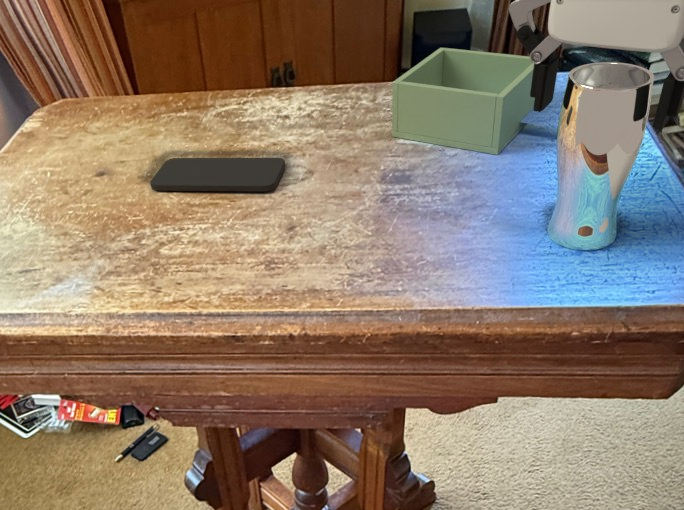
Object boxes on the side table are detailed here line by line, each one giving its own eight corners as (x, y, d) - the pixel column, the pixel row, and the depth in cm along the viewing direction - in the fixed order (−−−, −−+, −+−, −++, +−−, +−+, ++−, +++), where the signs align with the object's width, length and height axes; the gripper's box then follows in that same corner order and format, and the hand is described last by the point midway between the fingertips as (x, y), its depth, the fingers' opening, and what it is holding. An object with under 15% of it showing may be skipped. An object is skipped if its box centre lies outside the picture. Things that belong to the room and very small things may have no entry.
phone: (167, 157, 88) (286, 157, 85) (169, 163, 89) (287, 163, 85) (146, 185, 83) (273, 186, 79) (148, 192, 83) (274, 193, 80)
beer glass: (540, 250, 66) (565, 89, 57) (543, 213, 72) (566, 60, 62) (622, 256, 64) (661, 91, 55) (618, 218, 70) (654, 61, 60)
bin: (537, 112, 91) (544, 58, 87) (497, 155, 83) (503, 97, 78) (438, 98, 98) (440, 47, 93) (391, 136, 89) (391, 82, 85)
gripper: (797, -132, 48) (721, 114, 59) (542, -129, 57) (515, 87, 67) (784, -116, 44) (704, 149, 54) (507, -115, 52) (484, 115, 62)
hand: (599, 114), depth 61 cm, fingers open, 9 cm apart
